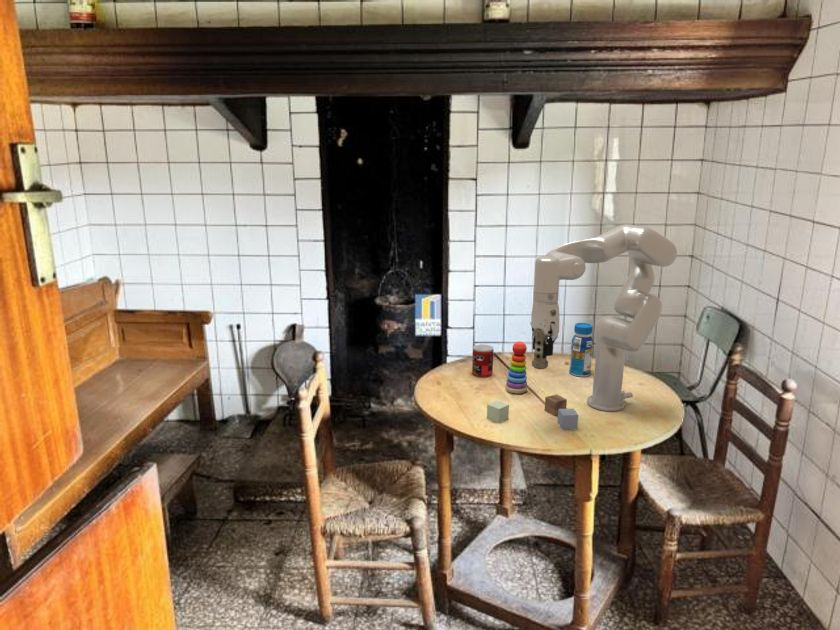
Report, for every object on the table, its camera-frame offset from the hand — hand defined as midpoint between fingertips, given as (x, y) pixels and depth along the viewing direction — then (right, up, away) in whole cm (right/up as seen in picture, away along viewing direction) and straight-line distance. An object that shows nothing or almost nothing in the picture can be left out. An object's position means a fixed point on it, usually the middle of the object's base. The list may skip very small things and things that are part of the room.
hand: (542, 351), depth 201 cm
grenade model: (0, -5, +1) cm, 5 cm away
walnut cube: (+7, -21, +15) cm, 27 cm away
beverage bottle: (+24, -12, +50) cm, 57 cm away
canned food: (-14, -12, +49) cm, 52 cm away
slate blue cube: (+9, -24, +4) cm, 26 cm away
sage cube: (-13, -23, +9) cm, 28 cm away
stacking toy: (-3, -16, +33) cm, 37 cm away
